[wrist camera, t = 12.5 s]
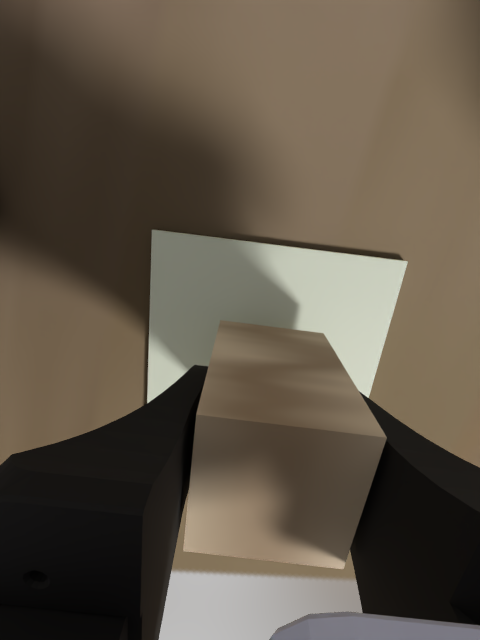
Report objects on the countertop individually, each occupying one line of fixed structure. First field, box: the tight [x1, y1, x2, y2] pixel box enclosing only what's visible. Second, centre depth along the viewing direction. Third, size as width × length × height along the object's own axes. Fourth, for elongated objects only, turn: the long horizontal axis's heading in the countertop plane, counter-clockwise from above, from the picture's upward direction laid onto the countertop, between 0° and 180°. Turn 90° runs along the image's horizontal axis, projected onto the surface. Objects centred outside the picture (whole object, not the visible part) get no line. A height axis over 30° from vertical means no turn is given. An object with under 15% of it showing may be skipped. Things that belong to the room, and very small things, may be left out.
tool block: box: [183, 320, 387, 569], centre depth 10 cm, size 4×4×6 cm
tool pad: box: [147, 230, 408, 403], centre depth 14 cm, size 10×10×1 cm
